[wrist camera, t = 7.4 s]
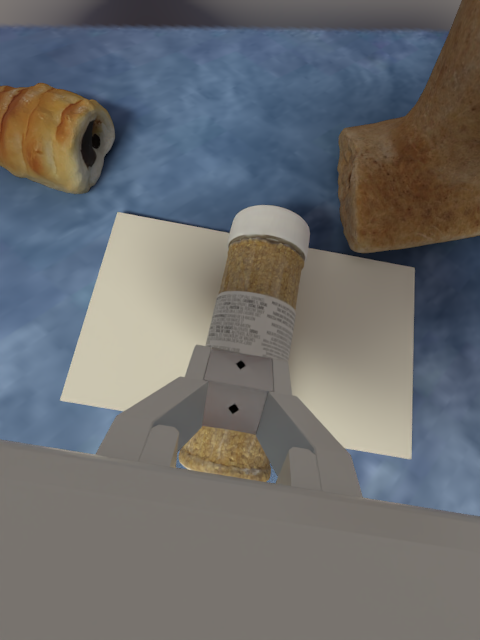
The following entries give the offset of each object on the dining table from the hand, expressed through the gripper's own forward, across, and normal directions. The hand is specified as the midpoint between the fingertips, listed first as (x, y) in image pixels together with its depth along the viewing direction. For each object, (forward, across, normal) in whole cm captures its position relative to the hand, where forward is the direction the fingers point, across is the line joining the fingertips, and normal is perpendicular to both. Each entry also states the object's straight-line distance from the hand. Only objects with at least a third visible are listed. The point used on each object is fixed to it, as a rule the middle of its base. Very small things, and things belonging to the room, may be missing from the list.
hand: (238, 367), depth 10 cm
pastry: (+16, +15, -3) cm, 22 cm away
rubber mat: (+8, -1, +4) cm, 9 cm away
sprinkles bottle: (+1, 0, +7) cm, 7 cm away
